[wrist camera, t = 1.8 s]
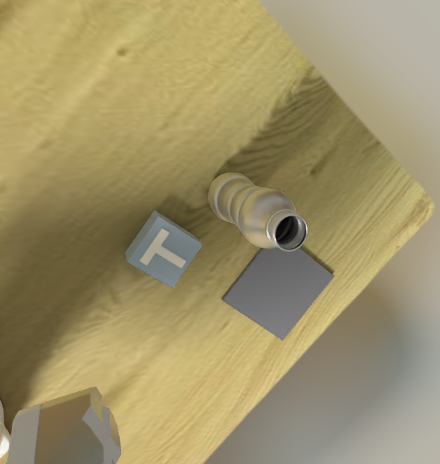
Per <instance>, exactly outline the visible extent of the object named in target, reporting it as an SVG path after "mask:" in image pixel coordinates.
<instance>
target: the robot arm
mask: <svg viewBox="0 0 440 464" xmlns="http://www.w3.org/2000/svg"><path fill="white" fill-rule="evenodd" d="M7 451H8V455H7V461H6V464H116V463H117V461H118V459H119V457H120V455H121V445H120V437H119V432H118V427H117V424H116V421H115V419H114V416H113V414H112V412H111V410H110V409H109V408H106V407H103V406H102V395H101V394H100V392H99V391H98V389H97V388H96V387H92V388H88V389H85V390H82V391H79V392H76V393H72V394H69V395H66V396H63V397H60V398H56V399H53V400H50V401H47V402H44V403H41V404H38V405H35V406H32V407H29V408H26V409H23V410H19V411H18V413H17V414H16V416H15V418H14V420H13V426H12V432H11V436H10V434H9V432H8V431H7V429H6V428H5V425H4V411H3V406H2V403H1V401H0V457H2V456H3V455H4V454H5V453H6V452H7Z"/></svg>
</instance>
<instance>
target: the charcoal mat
mask: <svg viewBox="0 0 440 464" xmlns="http://www.w3.org/2000/svg"><path fill="white" fill-rule="evenodd" d="M333 277H334V276H333V275H332V274H331V273H330V272H328V271H327V270H326V269H325V268H324V267H322V266H321V265H320V264H319V263H317V262H316V261H315V260H314V259H312V258H311V257H310V256H309V255H308V254H306V253H305V252H304V251H303V250H301V249H300V248H298V249H297V250H294V251H284V250H281V249H280V248H278V247H276V248H270V249H267V248H261V249H260V250H259V252H258V253H257V254H256V255H255V257H254V258H253V259H252V261H251V262H250V263H249V264H248V266H247V267H246V268H245V269H244V271H243V272H242V273H241V275H240V276H239V277H238V278H237V280H236V281H235V282H234V283H233V285H232V286H231V287H230V289H229V290H228V291H227V292H226V294H225V295H224V296H223V297H222V300H223V301H224V302H226V303H227V304H229V305H230V306H232V307H233V308H235V309H236V310H238V311H239V312H241V313H242V314H244V315H245V316H247V317H248V318H250V319H251V320H253V321H254V322H256V323H257V324H259V325H260V326H262V327H263V328H265V329H266V330H268V331H269V332H271V333H272V334H274V335H275V336H277V337H278V338H280V339H281V340H284V338H285V337H286V336H287V335H288V333H289V332H290V331H291V330H292V328H293V327H294V326H295V325H296V323H297V322H298V321H299V320H300V318H301V317H302V316H303V315H304V313H305V312H306V311H307V310H308V308H309V307H310V306H311V305H312V303H313V302H314V301H315V300H316V298H317V297H318V296H319V294H320V293H321V292H322V291H323V289H324V288H325V287H326V286H327V284H328V283H329V282H330V281H331V279H332V278H333Z"/></svg>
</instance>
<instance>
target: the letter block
mask: <svg viewBox="0 0 440 464" xmlns="http://www.w3.org/2000/svg"><path fill="white" fill-rule="evenodd" d="M202 246H203V244H202V243H201V242H200V241H199V240H198V238H197V237H196V236H194V235H193V234H191V233H190V232H188V231H186V230H185V229H183V228H182V227H180V226H179V225H177V224H176V223H174V222H173V221H171V220H169V219H168V218H166V217H165V216H163V215H162V214H160V213H159V212H157V211H155V210H154V211H153V213H152V214H151V216H150V217H149V219H148V220H147V222H146V223H145V224H144V226H143V227H142V229H141V230H140V232H139V233H138V234H137V236H136V237H135V239H134V240H133V242H132V243H131V245H130V246H129V247H128V249H127V250H126V252H125V256H126V260H127V263H129V264H131V265H133V266H134V267H136V268H138V269H140V270H141V271H143V272H145V273H147V274H148V275H150V276H152V277H154V278H155V279H157V280H159V281H161V282H162V283H164V284H166V285H168V286H169V287H171V288H173V287H174V285H175V284H176V282H177V281H178V280H179V278H180V277H181V275H182V274H183V273H184V271H185V270H186V268H187V267H188V265H189V264H190V263H191V261H192V260H193V258H194V257H195V256H196V254H197V253H198V251H199V250H200V249H201V247H202Z"/></svg>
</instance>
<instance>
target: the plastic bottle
mask: <svg viewBox="0 0 440 464" xmlns="http://www.w3.org/2000/svg"><path fill="white" fill-rule="evenodd" d="M208 201H209V204H210V207H211V209H212V211H213V212H214V214H215V215H216V216H217V217H218V218H220V219H221V220H224V221H226V222H229V223H233V224H235V225H236V226H237V227H238V228H239V229H240V231H241V232H242V234H243V236H244V237H245V238H246V239H247V240H248V241H249V242H250V243H251V244H253V245H254V246H257V247H259V248H267V249H270V248H276V247H278V248H280V249H281V250H284V251H294V250H297V249H298V248H300V247H301V246H302V245H303V244H304V242H305V241H306V238H307V235H308V226H307V223H306V222H305V220H304V219H303V218H302V217H301V216H300V215H298V214H297V210H296V207H295V205H294V203H293V201H292V200H291V198H290V197H289V196H288V195H287V194H286V193H284V192H283V191H281V190H279V189H275V188H270V187H260V186H256V185H255V184H254V183H253V182H252V181H251V180H250V179H249V178H248V177H246V176H245V175H243V174H241V173H237V172H229V173H224V174H222V175H219V176H218V177H217V178H216V179H215V180H214V181H213V182H212V184H211V185H210V188H209V192H208Z"/></svg>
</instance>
